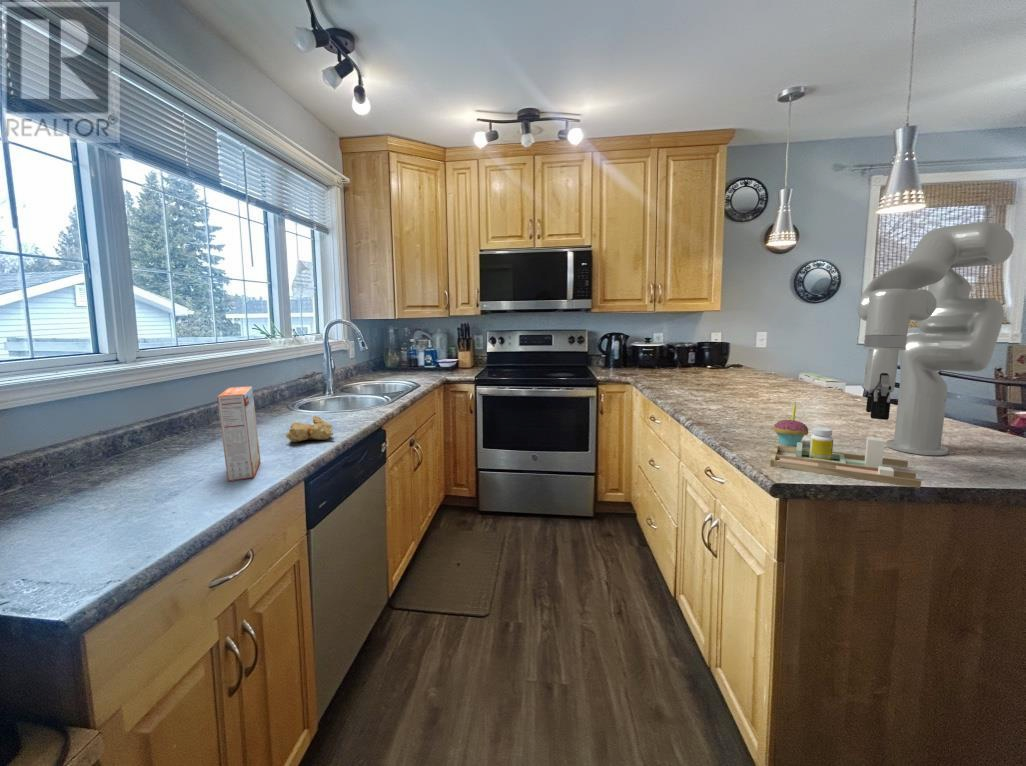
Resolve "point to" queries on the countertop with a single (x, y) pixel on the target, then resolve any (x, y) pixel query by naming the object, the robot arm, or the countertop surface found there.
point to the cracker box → (239, 432)
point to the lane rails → (830, 467)
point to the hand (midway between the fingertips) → (876, 415)
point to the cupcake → (790, 430)
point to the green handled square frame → (871, 459)
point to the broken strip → (849, 468)
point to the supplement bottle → (821, 444)
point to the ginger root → (310, 431)
